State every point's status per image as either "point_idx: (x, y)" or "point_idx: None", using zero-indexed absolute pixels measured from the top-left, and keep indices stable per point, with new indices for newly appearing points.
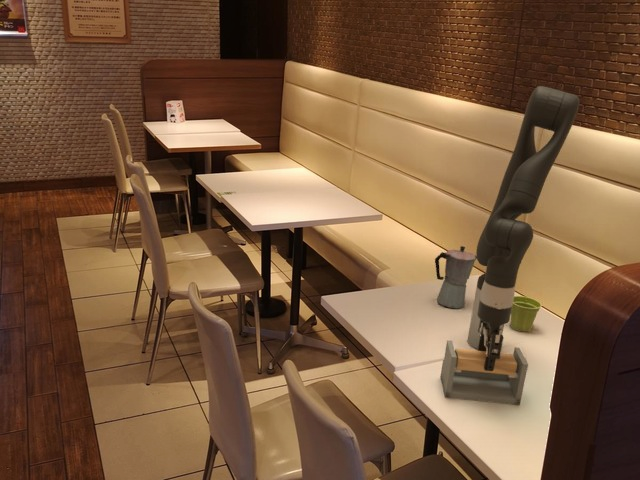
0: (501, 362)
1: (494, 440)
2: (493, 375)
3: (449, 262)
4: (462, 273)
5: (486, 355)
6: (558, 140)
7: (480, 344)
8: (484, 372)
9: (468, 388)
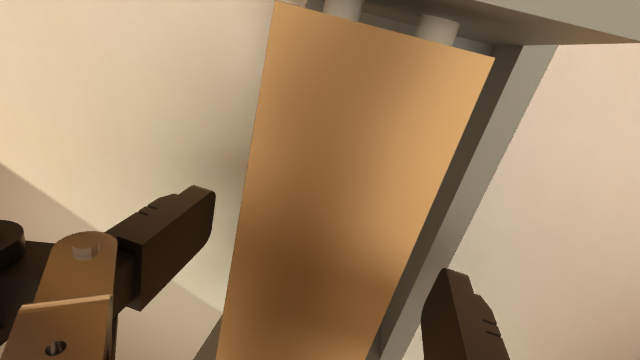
0: (222, 324)
1: (53, 73)
2: (404, 273)
3: None
4: None
5: (104, 239)
6: None
7: (452, 326)
8: (419, 243)
9: None
